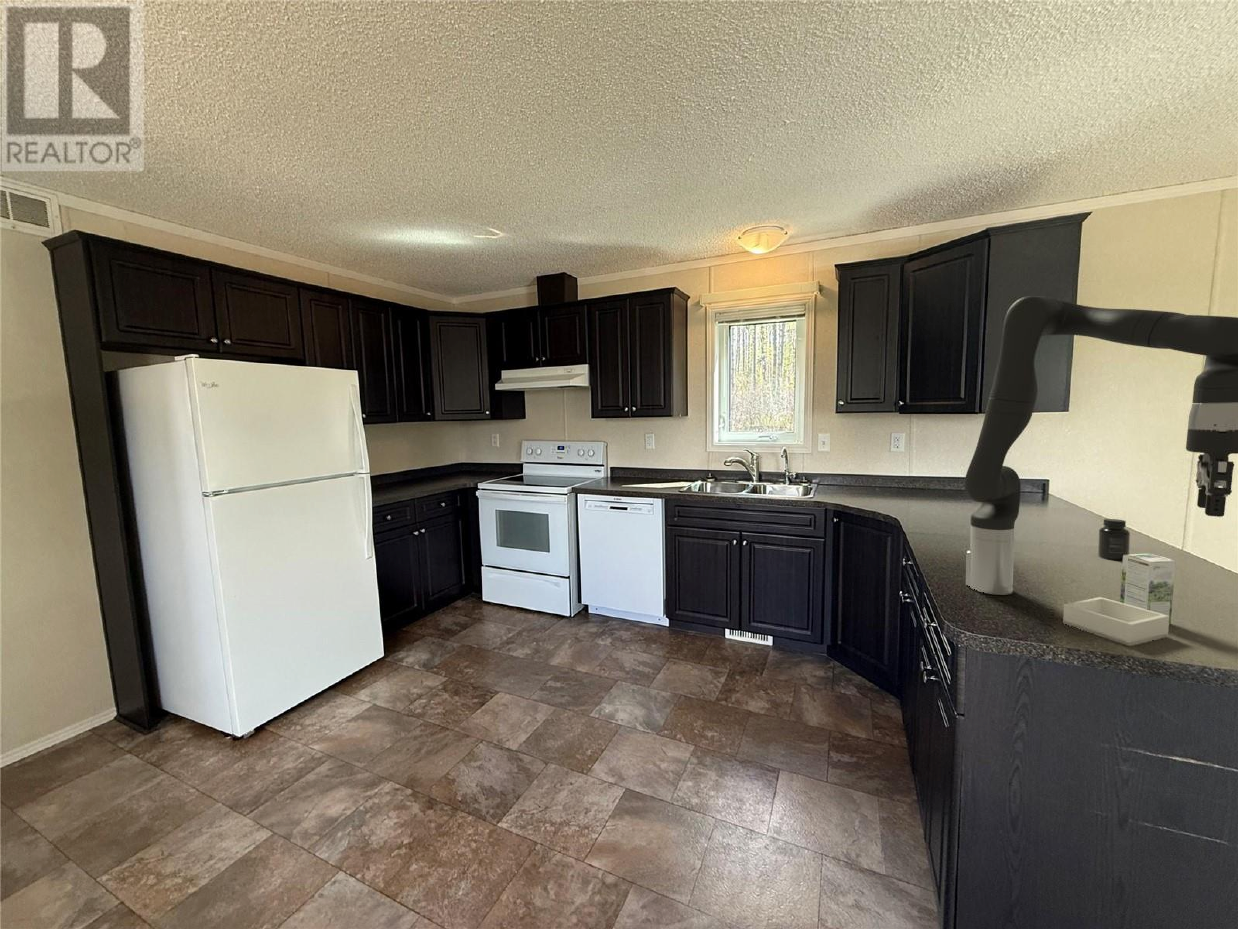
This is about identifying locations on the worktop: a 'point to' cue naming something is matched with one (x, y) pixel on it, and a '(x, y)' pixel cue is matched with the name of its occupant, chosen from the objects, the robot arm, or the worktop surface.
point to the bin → (1116, 621)
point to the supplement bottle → (1113, 539)
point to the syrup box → (1148, 582)
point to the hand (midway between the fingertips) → (1209, 511)
